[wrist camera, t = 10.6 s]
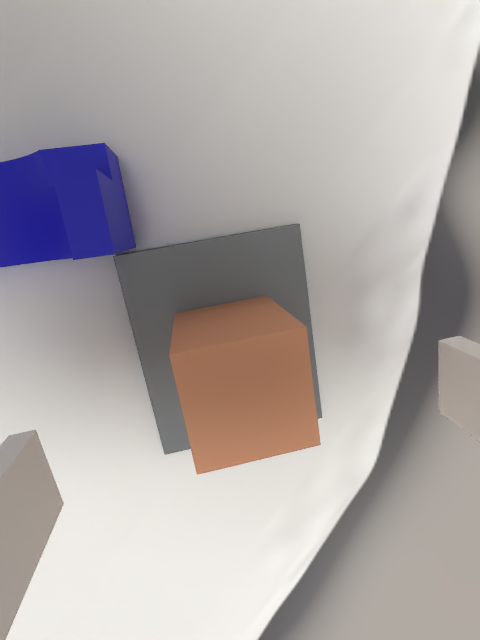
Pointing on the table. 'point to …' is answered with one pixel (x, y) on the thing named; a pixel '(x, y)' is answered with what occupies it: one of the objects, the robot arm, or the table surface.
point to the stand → (206, 301)
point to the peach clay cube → (243, 382)
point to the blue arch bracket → (63, 206)
